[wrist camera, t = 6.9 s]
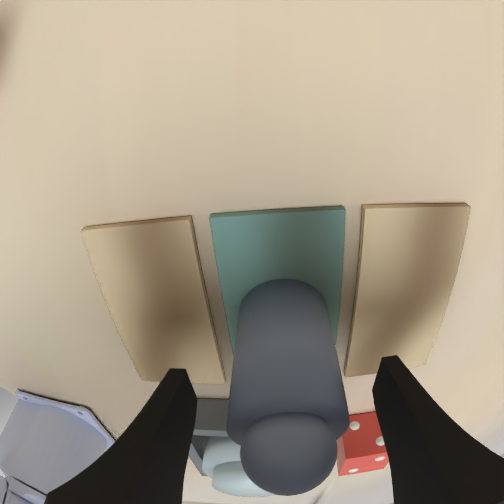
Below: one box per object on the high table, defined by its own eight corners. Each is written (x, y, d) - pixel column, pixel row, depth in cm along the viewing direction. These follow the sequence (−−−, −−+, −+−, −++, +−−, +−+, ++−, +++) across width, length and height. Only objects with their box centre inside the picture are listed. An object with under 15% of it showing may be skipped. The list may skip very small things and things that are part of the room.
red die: (334, 438, 21) (338, 476, 18) (339, 416, 19) (346, 459, 16) (376, 431, 21) (383, 469, 17) (386, 409, 19) (396, 450, 16)
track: (143, 375, 18) (141, 380, 17) (84, 227, 13) (80, 230, 12) (423, 360, 16) (425, 364, 16) (466, 203, 11) (470, 206, 11)
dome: (215, 457, 21) (210, 497, 18) (197, 420, 18) (188, 470, 15) (295, 457, 21) (296, 498, 17) (297, 419, 18) (299, 471, 14)
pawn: (243, 347, 15) (230, 507, 8) (233, 281, 13) (205, 471, 6) (324, 342, 15) (347, 502, 8) (328, 275, 13) (373, 462, 6)
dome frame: (205, 452, 23) (201, 475, 21) (178, 397, 18) (170, 427, 16) (309, 451, 22) (310, 475, 20) (316, 395, 18) (319, 427, 16)
